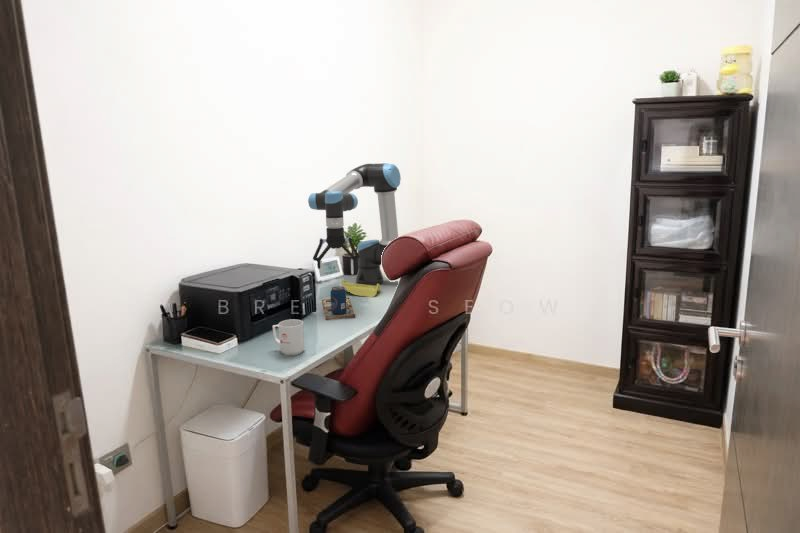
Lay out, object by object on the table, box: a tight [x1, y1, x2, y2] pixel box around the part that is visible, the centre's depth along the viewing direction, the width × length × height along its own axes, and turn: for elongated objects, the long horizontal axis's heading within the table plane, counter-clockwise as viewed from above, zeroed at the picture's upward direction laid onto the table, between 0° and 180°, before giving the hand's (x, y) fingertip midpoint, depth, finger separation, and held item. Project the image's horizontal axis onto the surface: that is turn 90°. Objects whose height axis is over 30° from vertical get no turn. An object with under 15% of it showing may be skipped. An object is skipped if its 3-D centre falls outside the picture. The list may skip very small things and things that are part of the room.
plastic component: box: [340, 279, 382, 298], centre depth 280 cm, size 20×7×10 cm
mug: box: [271, 318, 306, 356], centre depth 203 cm, size 12×9×11 cm
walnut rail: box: [321, 297, 356, 321], centre depth 254 cm, size 29×13×1 cm, turn 11°
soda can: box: [330, 286, 348, 316], centre depth 246 cm, size 7×7×12 cm
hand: (337, 274), depth 243 cm, fingers open, 13 cm apart
